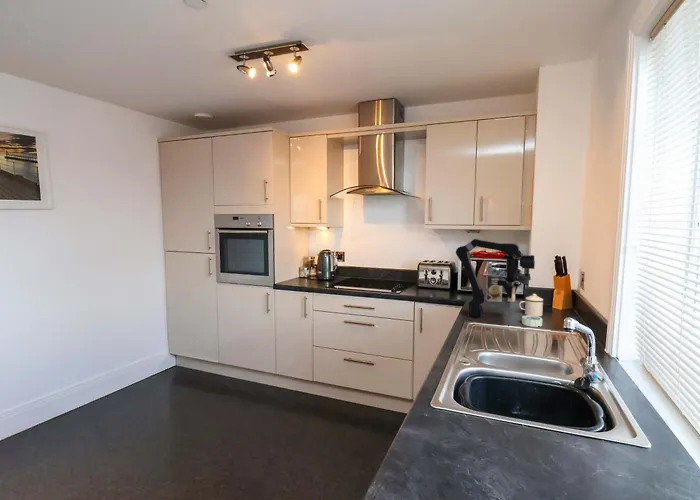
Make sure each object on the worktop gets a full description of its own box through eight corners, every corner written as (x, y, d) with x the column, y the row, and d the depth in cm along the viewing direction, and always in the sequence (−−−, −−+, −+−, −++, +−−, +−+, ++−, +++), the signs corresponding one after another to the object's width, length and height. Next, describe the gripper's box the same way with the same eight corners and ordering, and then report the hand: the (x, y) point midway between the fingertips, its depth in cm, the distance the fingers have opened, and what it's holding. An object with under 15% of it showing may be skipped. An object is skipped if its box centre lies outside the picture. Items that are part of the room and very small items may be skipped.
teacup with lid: (541, 313, 209) (542, 292, 207) (544, 317, 200) (545, 296, 199) (517, 311, 212) (518, 291, 211) (519, 315, 204) (520, 294, 203)
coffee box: (487, 301, 237) (487, 276, 236) (485, 299, 243) (485, 274, 242) (502, 302, 236) (503, 276, 234) (499, 299, 242) (500, 275, 240)
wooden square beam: (507, 301, 193) (508, 285, 192) (510, 300, 195) (510, 285, 194) (512, 302, 191) (512, 286, 190) (514, 301, 193) (515, 286, 192)
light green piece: (518, 323, 189) (519, 317, 189) (527, 320, 195) (527, 314, 194) (536, 327, 182) (537, 321, 182) (545, 324, 188) (545, 318, 187)
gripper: (518, 271, 179) (517, 303, 181) (536, 267, 191) (535, 297, 192) (496, 268, 188) (496, 299, 189) (515, 265, 200) (514, 294, 201)
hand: (511, 297), depth 193 cm, fingers closed on wooden square beam, 2 cm apart
